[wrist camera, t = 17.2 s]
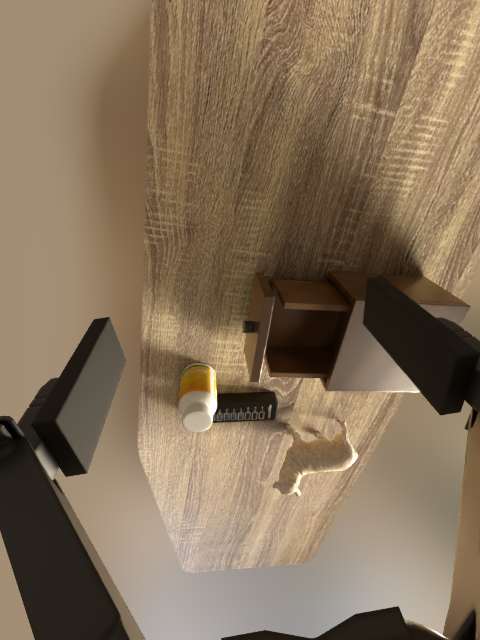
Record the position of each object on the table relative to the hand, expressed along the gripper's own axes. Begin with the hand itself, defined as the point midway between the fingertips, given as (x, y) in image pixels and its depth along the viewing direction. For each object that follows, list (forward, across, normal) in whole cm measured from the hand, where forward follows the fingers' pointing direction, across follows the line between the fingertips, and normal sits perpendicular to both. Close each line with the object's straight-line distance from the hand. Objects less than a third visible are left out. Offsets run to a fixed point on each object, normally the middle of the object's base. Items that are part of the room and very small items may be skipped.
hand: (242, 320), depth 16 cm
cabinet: (+25, +19, -18) cm, 36 cm away
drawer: (+24, +8, -15) cm, 30 cm away
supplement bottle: (+25, -7, -24) cm, 35 cm away
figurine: (+25, +10, -41) cm, 49 cm away
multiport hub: (+25, -3, -31) cm, 40 cm away
